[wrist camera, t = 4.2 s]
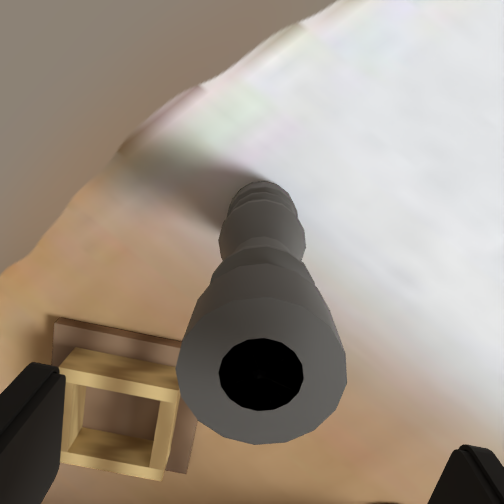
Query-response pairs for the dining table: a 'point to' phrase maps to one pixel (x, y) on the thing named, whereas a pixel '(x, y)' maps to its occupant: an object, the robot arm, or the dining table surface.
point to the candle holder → (261, 330)
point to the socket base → (121, 401)
